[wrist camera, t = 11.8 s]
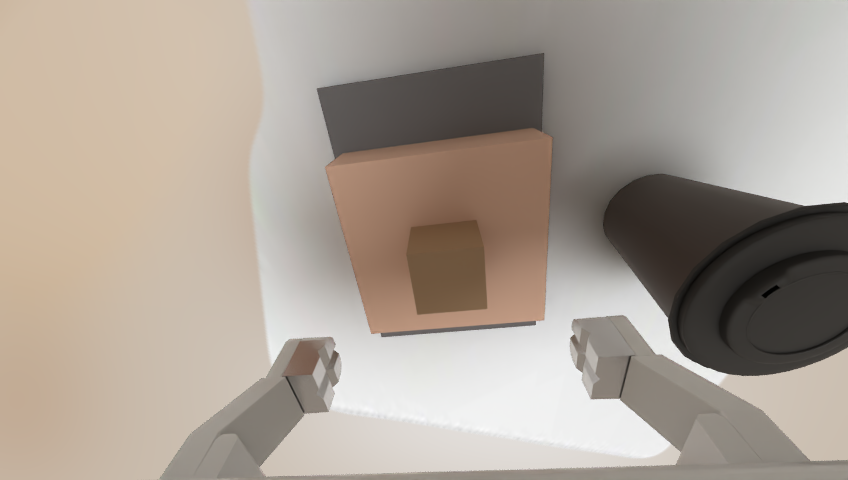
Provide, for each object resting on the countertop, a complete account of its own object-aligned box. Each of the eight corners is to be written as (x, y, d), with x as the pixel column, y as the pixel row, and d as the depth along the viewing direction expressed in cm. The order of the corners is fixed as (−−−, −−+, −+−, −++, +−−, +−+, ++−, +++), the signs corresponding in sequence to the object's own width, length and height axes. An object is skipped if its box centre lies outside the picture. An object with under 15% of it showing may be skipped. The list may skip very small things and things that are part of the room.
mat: (320, 88, 18) (316, 88, 17) (540, 54, 16) (543, 53, 16) (382, 331, 26) (381, 337, 25) (533, 319, 24) (535, 325, 24)
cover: (342, 153, 19) (301, 185, 13) (533, 127, 18) (578, 150, 12) (379, 301, 23) (361, 371, 18) (530, 288, 22) (561, 358, 17)
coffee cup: (601, 148, 18) (753, 210, 10) (741, 153, 18) (1028, 221, 9) (568, 265, 22) (656, 390, 13) (684, 270, 22) (853, 400, 13)
